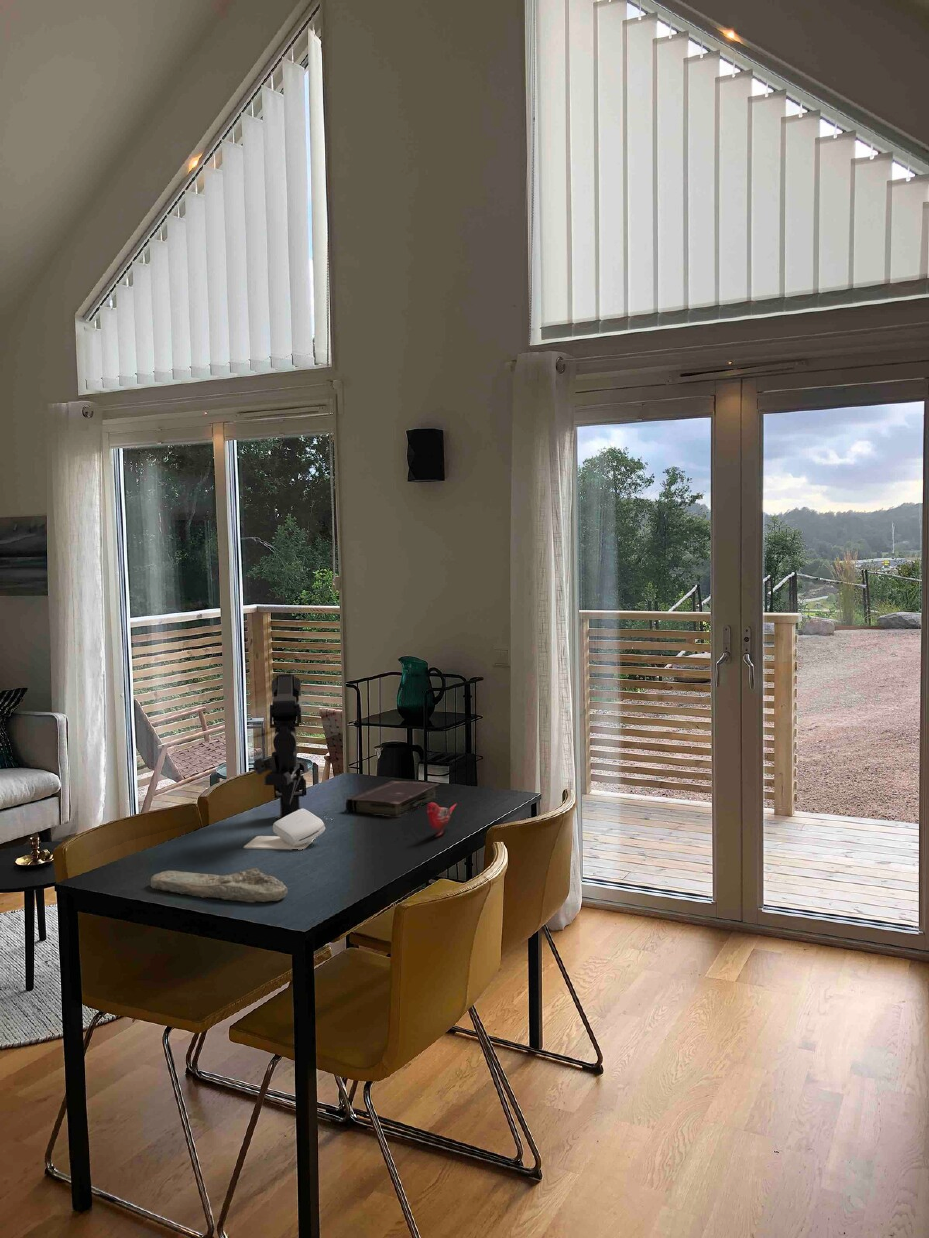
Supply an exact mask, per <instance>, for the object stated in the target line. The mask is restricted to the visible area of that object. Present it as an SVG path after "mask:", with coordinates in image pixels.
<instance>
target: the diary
mask: <svg viewBox="0 0 929 1238" xmlns="http://www.w3.org/2000/svg"><path fill="white" fill-rule="evenodd" d="M439 785H440V784H439V783H432V782H421V781H397V780H391V781H389V782H387V783H384V784H382V785H380V786H376V787H375V788H371V789H367V790H366V791H364V792H361V793H359V794H357V795H354V796H351V797H347V798H346V800H345V811H346V812H347V811H349V812H352V811H353V812H354V811H356V812H357V813H359V812H365V813H364V814H368V813H371V814H384V815H390V816H389V817H388V818H394V817H395V818H401V817H402V816H401V815H399V814H402V815H403V814H405V815H407V814H408V813H404V812H406V811H411V812H413V810H414V811H416V810H417V809H419V807H420V808H422V807H421V806H420V805H421V804H424V803H426V802H427V801H431V800H432V799H434V798H437V797H436V787H438V786H439ZM418 806H419V807H418ZM413 808H414V809H413ZM416 808H417V809H416ZM411 809H412V810H411ZM415 809H416V810H415ZM351 810H352V811H351ZM371 814H370V815H371ZM398 815H399V816H398ZM403 816H404V815H403Z"/></svg>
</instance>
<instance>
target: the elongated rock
mask: <svg viewBox="0 0 929 1238" xmlns="http://www.w3.org/2000/svg"><path fill="white" fill-rule="evenodd" d="M150 887H152V888H151V889H154V888H155V889H154V890H162V891H165V892H170V893H176V894H179V893H180V895H189V896H192V897H199V898H200V897H201V898H207V897H208V898H212V897H213V898H214V899H215V898H216V899H222V900H224V901H239V902H244V903H253V904H255V903H256V902H263V903H265V902H273V901H274V902H275V901H277V902H278V901H280V900H282V899H283V898H285V897H286V896H287V895H288V892H289V891H288V887H287V886H286V885H285V884H284V883H283V881H280V880H279V879H277V878H276V877H274V876H273V875H267V874H265V873H262V872H261V871H260V870H259V868H251V869H246V870H245V871H241V870H240V871H239V872H235V873H232V874H231V873H230V874H225V875H218V874H211V873H209V874H208V873H200V872H199V873H198V872H189V871H178V870H175V869H174V870H165V871H161V872H158V873H155V874H154V875H153V876H151V878H150ZM213 898H212V899H213Z"/></svg>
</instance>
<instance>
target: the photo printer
mask: <svg viewBox="0 0 929 1238" xmlns="http://www.w3.org/2000/svg"><path fill="white" fill-rule="evenodd" d="M272 831H273V833H275V834H276V835H277V836H279V837H280V838H282V839H283V840H285V841H286V842H287V843H289V844H290V845H292V846H293V847H295V846H299V845H302V844H304V843H307V842H309V841H311V840H312V839H314V838H315V839H316V838H317V837H319V836H320V835H322V833H324V832H325V831H326V827H325V823H324V822H323V820H322V819H321V818H320V817H318V816H316V815H315V814H313V813H312V812H310V811H309V810H307V809H305V808H304V807H303V808H300V809H299V810H297V811H295V812H293V813H291V814H289V815H287V816H285V817H283V818H282V819H277V820H276V821H275V822H274V823H273V825H272Z"/></svg>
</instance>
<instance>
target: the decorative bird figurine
mask: <svg viewBox="0 0 929 1238" xmlns="http://www.w3.org/2000/svg"><path fill="white" fill-rule="evenodd" d="M457 805H458V803H457V802H456V803H455V804H454V805H452V806H451V807H449V808H447V807H440V806H439V805H438V804H437V803H435V802H434V801H433V802H430V803H428V804H427V810H426V811H427V812H426V813H427V816H428V817H427V818H428V821H429V824H430V826H431V827H432V828H433V829H434V830H437V831H439V832H438V833H437V835H435V837H440V836H441V835H443V833H444V828H445V827H447V825H448V823H449V822H450V820H451V817H452V813H453V811H454V809H455V808H456V807H457ZM435 837H434V838H435Z"/></svg>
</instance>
